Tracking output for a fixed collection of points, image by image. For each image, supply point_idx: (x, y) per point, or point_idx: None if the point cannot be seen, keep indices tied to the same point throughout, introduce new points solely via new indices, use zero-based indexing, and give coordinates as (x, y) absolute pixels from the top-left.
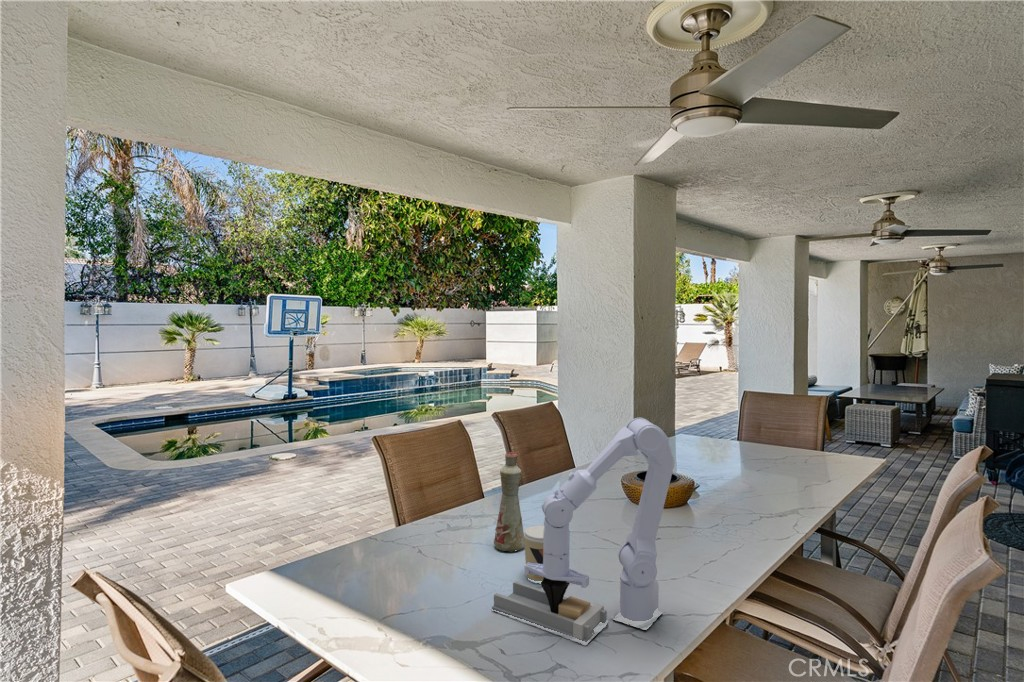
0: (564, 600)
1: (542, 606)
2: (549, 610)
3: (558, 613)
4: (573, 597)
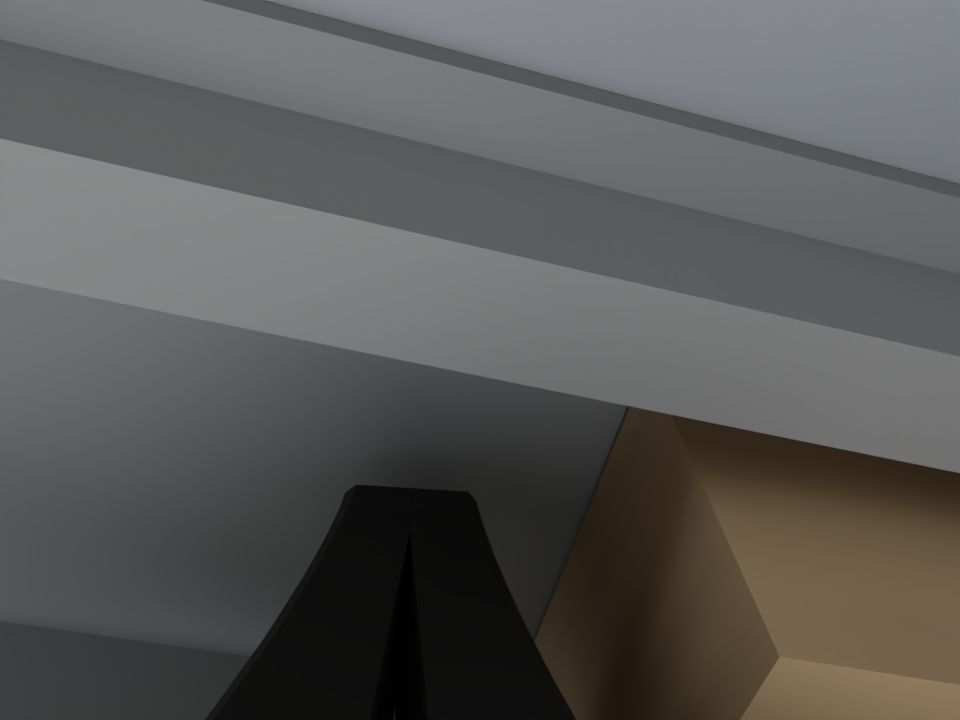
0: (520, 373)
1: (8, 283)
2: (223, 376)
3: (428, 412)
4: (893, 694)
